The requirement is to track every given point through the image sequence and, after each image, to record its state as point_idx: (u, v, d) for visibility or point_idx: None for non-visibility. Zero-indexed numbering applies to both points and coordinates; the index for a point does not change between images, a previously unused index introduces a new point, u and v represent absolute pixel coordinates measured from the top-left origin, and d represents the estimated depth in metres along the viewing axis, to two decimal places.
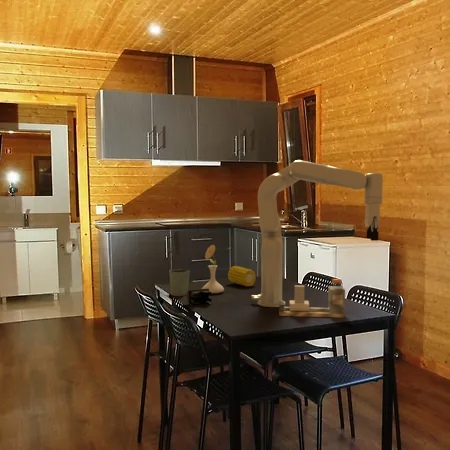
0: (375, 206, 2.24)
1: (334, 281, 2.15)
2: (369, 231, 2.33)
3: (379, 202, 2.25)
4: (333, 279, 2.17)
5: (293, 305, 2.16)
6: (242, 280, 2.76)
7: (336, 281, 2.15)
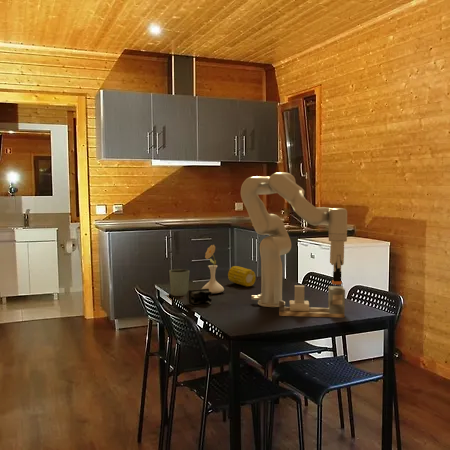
0: (339, 244, 2.11)
1: (334, 282, 2.15)
2: None
3: (343, 239, 2.12)
4: None
5: (293, 305, 2.16)
6: (242, 280, 2.76)
7: (336, 282, 2.15)
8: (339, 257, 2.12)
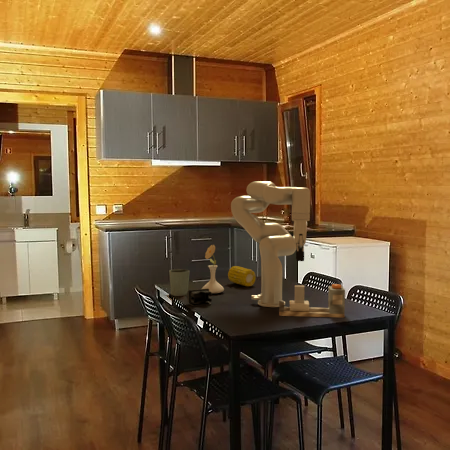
0: (301, 223, 2.12)
1: (334, 286, 2.16)
2: None
3: (306, 218, 2.13)
4: (333, 284, 2.17)
5: (293, 305, 2.16)
6: (242, 280, 2.76)
7: (336, 286, 2.15)
8: (301, 236, 2.13)
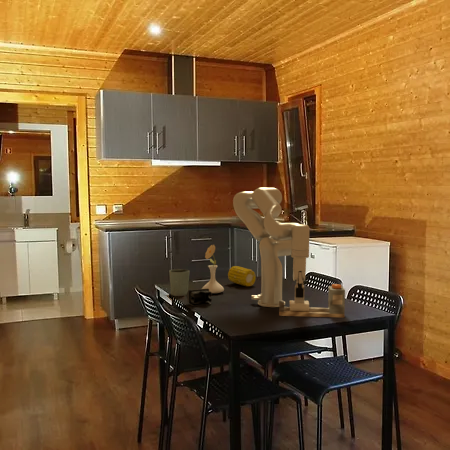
0: (300, 260, 2.13)
1: (334, 286, 2.16)
2: None
3: (305, 256, 2.14)
4: (333, 284, 2.17)
5: (293, 305, 2.16)
6: (242, 280, 2.76)
7: (336, 286, 2.15)
8: (300, 273, 2.14)
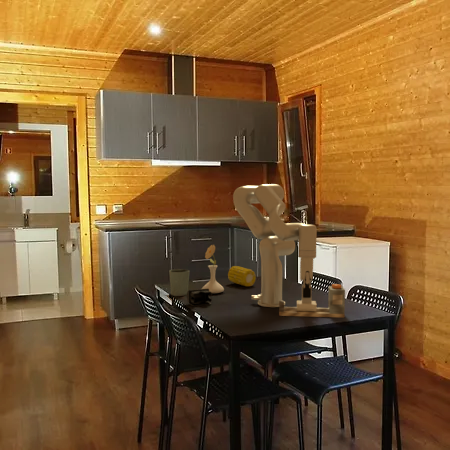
0: (308, 260, 2.13)
1: (334, 286, 2.16)
2: None
3: (312, 256, 2.14)
4: (333, 284, 2.17)
5: (300, 305, 2.16)
6: (242, 280, 2.76)
7: (336, 286, 2.15)
8: (308, 273, 2.14)
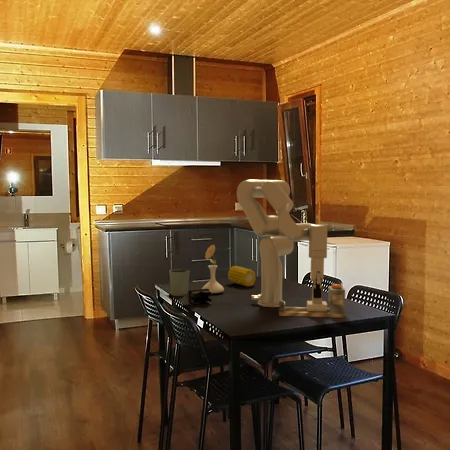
0: (318, 260, 2.13)
1: (334, 286, 2.16)
2: None
3: (323, 256, 2.14)
4: (333, 284, 2.17)
5: (311, 305, 2.15)
6: (242, 280, 2.76)
7: (336, 286, 2.15)
8: (319, 273, 2.13)
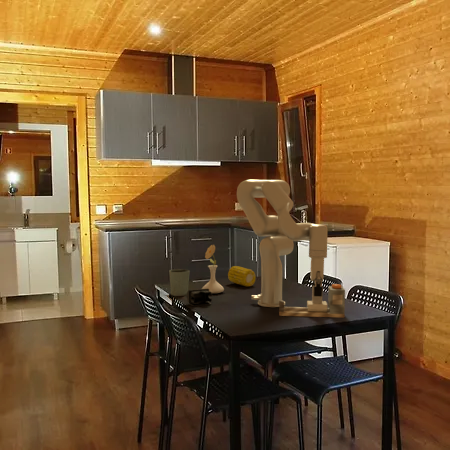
0: (319, 260, 2.13)
1: (334, 286, 2.16)
2: (315, 284, 2.22)
3: (323, 256, 2.14)
4: (333, 284, 2.17)
5: (311, 306, 2.15)
6: (242, 280, 2.76)
7: (336, 286, 2.15)
8: None
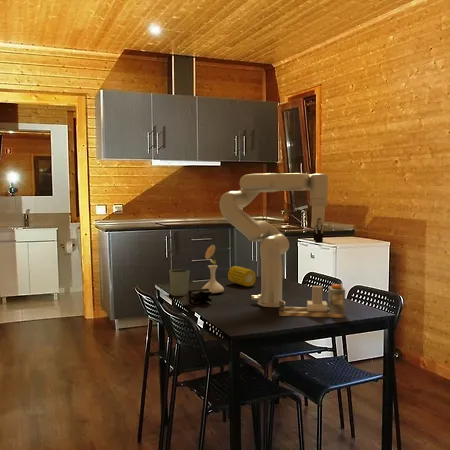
0: (319, 208, 2.19)
1: (334, 286, 2.16)
2: (316, 233, 2.29)
3: (324, 203, 2.20)
4: (333, 284, 2.17)
5: (311, 306, 2.15)
6: (242, 280, 2.76)
7: (336, 286, 2.15)
8: None
